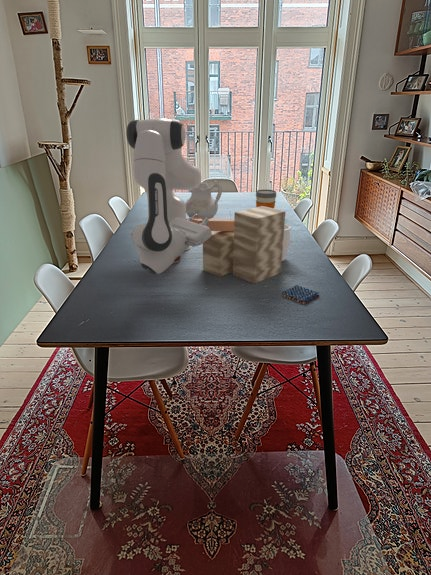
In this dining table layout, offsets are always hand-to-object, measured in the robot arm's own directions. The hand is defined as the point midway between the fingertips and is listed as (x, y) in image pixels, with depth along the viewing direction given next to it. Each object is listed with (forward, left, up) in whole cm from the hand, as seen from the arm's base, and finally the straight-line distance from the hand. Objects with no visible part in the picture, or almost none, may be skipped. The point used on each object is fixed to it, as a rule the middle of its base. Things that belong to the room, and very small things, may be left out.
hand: (202, 217), depth 154 cm
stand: (+22, -2, -25) cm, 33 cm away
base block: (+9, +5, -25) cm, 27 cm away
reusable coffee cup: (+55, +86, -25) cm, 105 cm away
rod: (+7, +5, -7) cm, 11 cm away
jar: (+36, +13, -25) cm, 46 cm away
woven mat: (+32, -25, -25) cm, 48 cm away
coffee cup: (-10, +20, -25) cm, 33 cm away
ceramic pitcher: (+15, +80, -25) cm, 85 cm away
